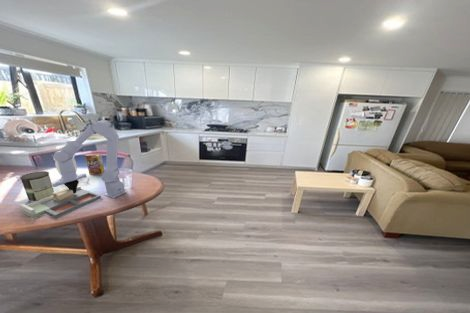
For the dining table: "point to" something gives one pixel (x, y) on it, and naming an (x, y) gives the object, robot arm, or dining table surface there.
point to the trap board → (59, 204)
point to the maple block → (63, 194)
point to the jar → (59, 168)
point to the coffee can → (37, 185)
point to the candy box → (94, 163)
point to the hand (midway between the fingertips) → (74, 192)
